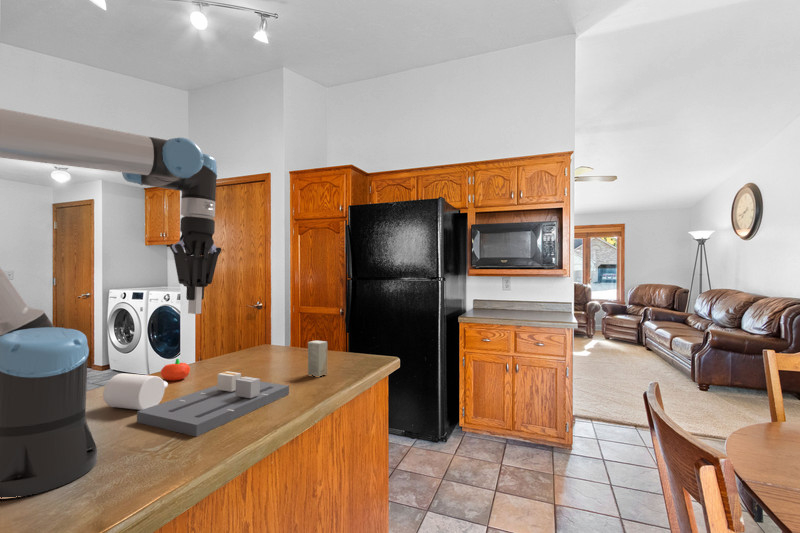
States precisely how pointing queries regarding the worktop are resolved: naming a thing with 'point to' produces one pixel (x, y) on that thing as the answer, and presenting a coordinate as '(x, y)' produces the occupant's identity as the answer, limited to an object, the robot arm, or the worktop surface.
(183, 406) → the console
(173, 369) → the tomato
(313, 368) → the box
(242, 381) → the fader
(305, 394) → the worktop surface
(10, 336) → the robot arm
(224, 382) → the fader
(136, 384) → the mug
